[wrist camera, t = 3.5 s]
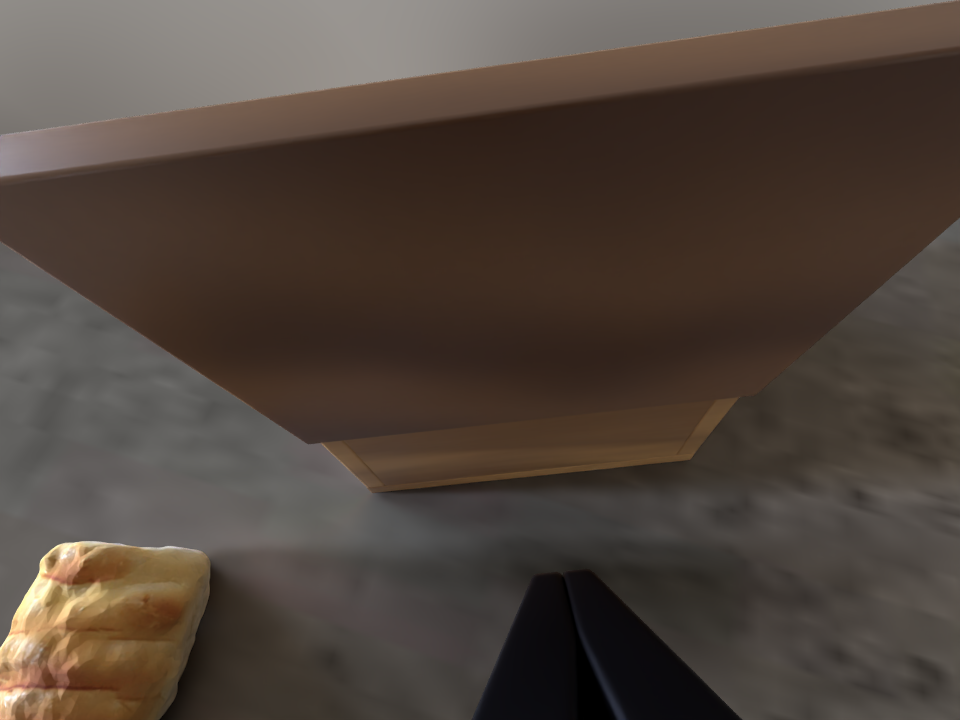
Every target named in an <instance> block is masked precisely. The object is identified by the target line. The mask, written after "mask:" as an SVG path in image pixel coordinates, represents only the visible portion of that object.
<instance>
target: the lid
mask: <svg viewBox="0 0 960 720" xmlns="http://www.w3.org/2000/svg"><path fill="white" fill-rule="evenodd" d="M959 218H960V0H956V1H948V2H941V3H934V4H927V5H919V6H912V7H905V8H898V9H891V10H884V11H877V12H871V13H863V14H856V15H849V16H841V17H835V18H827V19H821V20H813V21H806V22H799V23H792V24H785V25H778V26H771V27H763V28H757V29H749V30H742V31H735V32H728V33H721V34H714V35H707V36H699V37H693V38H686V39H679V40H672V41H664V42H657V43H650V44H643V45H636V46H629V47H622V48H614V49H607V50H600V51H593V52H586V53H580V54H572V55H565V56H558V57H550V58H543V59H536V60H529V61H522V62H515V63H508V64H501V65H494V66H487V67H480V68H473V69H466V70H458V71H451V72H445V73H437V74H430V75H423V76H416V77H409V78H402V79H395V80H387V81H381V82H373V83H366V84H359V85H352V86H346V87H338V88H331V89H324V90H316V91H310V92H302V93H295V94H289V95H281V96H274V97H267V98H260V99H252V100H246V101H239V102H231V103H225V104H217V105H210V106H203V107H196V108H189V109H182V110H175V111H168V112H161V113H153V114H147V115H139V116H132V117H125V118H118V119H111V120H104V121H96V122H90V123H82V124H76V125H68V126H61V127H54V128H47V129H40V130H33V131H25V132H19V133H11V134H4V135H0V242H1V243H3V244H4V245H6V246H7V247H9V248H10V249H12V250H13V251H15V252H16V253H18V254H19V255H21V256H22V257H24V258H25V259H27V260H28V261H30V262H31V263H33V264H35V265H36V266H38V267H39V268H41V269H42V270H44V271H45V272H47V273H48V274H50V275H51V276H53V277H54V278H56V279H57V280H59V281H60V282H62V283H63V284H65V285H66V286H68V287H70V288H71V289H73V290H74V291H76V292H77V293H79V294H80V295H82V296H83V297H85V298H86V299H88V300H89V301H91V302H92V303H94V304H95V305H97V306H98V307H100V308H101V309H103V310H104V311H106V312H108V313H109V314H111V315H112V316H114V317H115V318H117V319H118V320H120V321H121V322H123V323H124V324H126V325H127V326H129V327H130V328H132V329H133V330H135V331H136V332H138V333H139V334H141V335H142V336H144V337H146V338H147V339H149V340H150V341H152V342H153V343H155V344H156V345H158V346H159V347H161V348H162V349H164V350H165V351H167V352H168V353H170V354H171V355H173V356H174V357H176V358H177V359H179V360H180V361H182V362H184V363H185V364H187V365H188V366H190V367H191V368H193V369H194V370H196V371H197V372H199V373H200V374H202V375H203V376H205V377H206V378H208V379H209V380H211V381H212V382H214V383H215V384H217V385H219V386H220V387H222V388H223V389H225V390H226V391H228V392H229V393H231V394H232V395H234V396H235V397H237V398H238V399H240V400H241V401H243V402H244V403H246V404H247V405H249V406H250V407H252V408H253V409H255V410H257V411H258V412H260V413H261V414H263V415H264V416H266V417H267V418H269V419H270V420H272V421H273V422H275V423H276V424H278V425H279V426H281V427H282V428H284V429H285V430H287V431H288V432H290V433H291V434H293V435H295V436H296V437H298V438H299V439H301V440H302V441H304V442H305V443H307V444H315V443H324V442H333V441H343V440H352V439H361V438H370V437H379V436H389V435H398V434H407V433H416V432H425V431H434V430H444V429H453V428H462V427H471V426H480V425H489V424H499V423H508V422H517V421H526V420H535V419H545V418H554V417H563V416H572V415H581V414H590V413H600V412H609V411H618V410H627V409H636V408H645V407H655V406H664V405H673V404H682V403H691V402H701V401H710V400H719V399H728V398H737V397H746V396H755V395H757V394H758V393H759V392H760V391H761V390H762V389H763V388H765V387H766V386H767V385H768V384H769V383H770V382H771V381H773V380H774V379H775V378H776V377H777V376H778V375H779V374H781V373H782V372H783V371H784V370H785V369H786V368H788V367H789V366H790V365H791V364H792V363H793V362H794V361H796V360H797V359H798V358H799V357H800V356H801V355H802V354H804V353H805V352H806V351H807V350H808V349H809V348H811V347H812V346H813V345H814V344H815V343H816V342H817V341H819V340H820V339H821V338H822V337H823V336H824V335H825V334H827V333H828V332H829V331H830V330H831V329H832V328H833V327H835V326H836V325H837V324H838V323H839V322H840V321H842V320H843V319H844V318H845V317H846V316H847V315H848V314H850V313H851V312H852V311H853V310H854V309H855V308H856V307H858V306H859V305H860V304H861V303H862V302H863V301H864V300H866V299H867V298H868V297H869V296H870V295H871V294H873V293H874V292H875V291H876V290H877V289H878V288H879V287H881V286H882V285H883V284H884V283H885V282H886V281H887V280H889V279H890V278H891V277H892V276H893V275H894V274H895V273H897V272H898V271H899V270H900V269H901V268H902V267H904V266H905V265H906V264H907V263H908V262H909V261H910V260H912V259H913V258H914V257H915V256H916V255H917V254H918V253H920V252H921V251H922V250H923V249H924V248H925V247H926V246H928V245H929V244H930V243H931V242H932V241H933V240H935V239H936V238H937V237H938V236H939V235H940V234H941V233H943V232H944V231H945V230H946V229H947V228H948V227H949V226H951V225H952V224H953V223H954V222H955V221H956V220H958V219H959Z"/></svg>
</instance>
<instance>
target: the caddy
mask: <svg viewBox="0 0 960 720" xmlns="http://www.w3.org/2000/svg"><path fill="white" fill-rule="evenodd" d="M738 399H739V397H737V398H728V399H719V400H710V401H701V402H691V403H682V404H673V405H664V406H655V407H645V408H636V409H627V410H618V411H609V412H600V413H590V414H581V415H572V416H563V417H554V418H545V419H535V420H526V421H517V422H508V423H499V424H489V425H480V426H471V427H462V428H453V429H444V430H434V431H425V432H416V433H407V434H398V435H389V436H379V437H370V438H361V439H352V440H343V441H333V442H324V443H321V444H322V445H323V446H324V447H325V448H327V449H328V450H329V451H330V452H331V453H332V454H333V455H334V456H335V457H336V458H337V459H338V460H339V461H340V462H341V463H342V464H343V465H344V466H345V467H346V468H347V469H349V470H350V471H351V472H352V473H353V474H354V475H355V476H356V477H357V478H358V479H359V480H360V481H361V482H362V483H363V484H364V485H365V486H366V487H367V488H368V489H369V490H370V491H371V492H372V493H377V492H387V491H396V490H406V489H415V488H425V487H435V486H444V485H454V484H464V483H473V482H483V481H492V480H502V479H512V478H521V477H531V476H540V475H550V474H560V473H569V472H579V471H589V470H598V469H608V468H617V467H627V466H637V465H646V464H656V463H666V462H675V461H685V460H690V459H691V458H692V457H693V456H694V454H695V452H696V451H697V450H698V449H699V447H700V446H701V445H702V444H703V442H704V441H705V440H706V439H707V437H708V436H709V435H710V434H711V432H712V431H713V430H714V429H715V427H716V426H717V425H718V424H719V422H720V421H721V420H722V419H723V417H724V416H725V415H726V414H727V412H728V411H729V410H730V409H731V407H732V406H733V405H734V404H735V402H736V401H737V400H738Z"/></svg>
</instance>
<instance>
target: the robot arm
mask: <svg viewBox="0 0 960 720" xmlns="http://www.w3.org/2000/svg"><path fill="white" fill-rule="evenodd" d="M472 720H742V719H741V718H740V717H739V716H738V715H737V714H736V713H735V712H734V711H733V710H732V709H731V708H730V707H729V706H728V705H727V704H726V703H725V702H724V701H723V700H722V699H721V698H720V697H719V696H718V695H717V694H716V693H715V692H714V691H713V690H712V689H711V688H710V687H709V686H708V685H707V684H706V683H705V682H704V681H703V680H702V679H701V678H700V677H699V676H698V675H697V674H696V673H695V672H694V671H693V670H692V669H691V668H690V667H689V666H688V665H687V664H686V663H685V662H684V661H683V660H682V659H681V658H680V657H679V656H677V655H676V654H675V653H674V652H673V651H672V650H671V649H670V648H669V647H668V646H667V645H666V644H665V643H664V642H663V641H662V640H661V639H660V638H659V637H658V636H657V635H656V634H655V633H654V632H653V631H652V630H651V629H650V628H649V627H648V626H647V625H646V624H645V623H644V622H643V621H642V620H641V619H640V618H639V617H638V616H637V615H636V614H635V613H634V612H633V611H632V610H631V609H630V608H629V607H628V606H627V605H626V604H625V603H624V602H623V601H622V600H621V599H620V598H619V597H618V596H617V595H616V594H615V593H614V592H613V591H612V590H611V589H610V588H609V587H608V586H607V585H606V584H605V583H604V582H603V581H602V580H601V579H600V578H599V577H598V576H597V575H596V574H595V573H594V572H593V571H591V570H589V569H583V570H573V571H566V572H564V573H563V577H562V575H561V574H560V573H559V572H552V573H541V574H535V575H534V576H533V577H532V579H531V581H530V584H529V586H528V588H527V591H526V593H525V595H524V598H523V600H522V603H521V605H520V607H519V610H518V612H517V614H516V617H515V619H514V621H513V624H512V626H511V628H510V631H509V633H508V636H507V638H506V640H505V643H504V645H503V647H502V650H501V652H500V654H499V657H498V659H497V661H496V664H495V666H494V669H493V671H492V673H491V676H490V678H489V680H488V683H487V685H486V687H485V690H484V692H483V694H482V697H481V699H480V702H479V704H478V706H477V709H476V711H475V713H474V716H473V718H472Z"/></svg>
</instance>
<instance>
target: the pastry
mask: <svg viewBox="0 0 960 720" xmlns="http://www.w3.org/2000/svg"><path fill="white" fill-rule="evenodd" d="M210 565H211V563H210V560H209V559H208V557H207V556H206V555H205V553H204V552H202V551H198V550H194V549H186V548H180V547H174V546H167V547H163V548H153V547H134V546H128V545H123V544H119V543H115V544H111V543H104V542H97V541H81V542H76V543H64V544H61V545H58V546H56V547H55V548H53V549H52V550H51V551H50V552H49V553H48V554H47V555H46V556H45V557H44V558H43V559H42V560H41V562H40V572H39V574H38V576H37V578H36V580H35V581H34V583H33V585H32V586H31V588H30V589H29V591H28V592H27V594H26V595H25V597H24V599H23V601H22V603H21V605H20V606H19V608H18V610H17V612H16V614H15V616H14V618H13V621H12V627H11V631H10V633H9V636H8V637H7V639H6V640H5V642H4V643H3V645H2V646H1V648H0V720H159V719H160V718H161V717H162V716H163V715H164V714H165V712H166V711H167V710H168V708H169V706H170V705H171V704H172V702H173V701H174V699H175V697H176V694H177V690H178V686H177V683H178V681H179V680H180V678H181V675H182V673H183V671H184V669H185V667H186V665H187V662H188V658H189V654H190V651H191V649H192V647H193V645H194V642H195V639H196V638H195V634H196V631H197V629H198V626H199V622H200V619H201V618H202V616H203V614H204V611H205V608H206V605H207V602H208V598H209V592H210V585H209V579H210Z"/></svg>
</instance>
